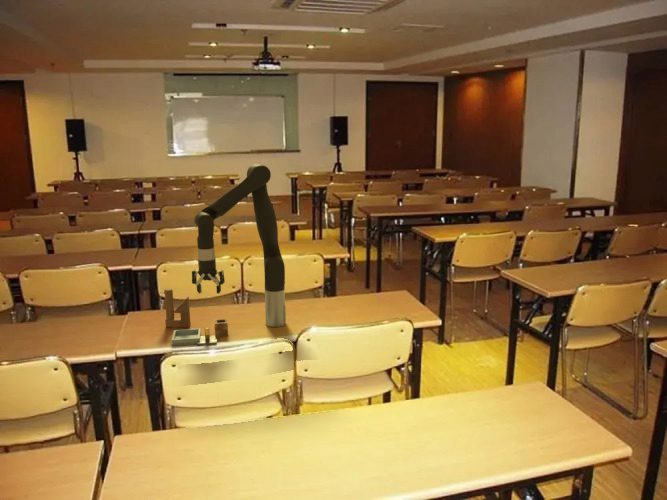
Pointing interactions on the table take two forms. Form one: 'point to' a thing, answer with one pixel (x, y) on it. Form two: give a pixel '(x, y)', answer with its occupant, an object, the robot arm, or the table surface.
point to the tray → (186, 336)
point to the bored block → (221, 327)
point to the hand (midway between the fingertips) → (209, 293)
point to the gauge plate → (209, 342)
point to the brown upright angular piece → (176, 311)
